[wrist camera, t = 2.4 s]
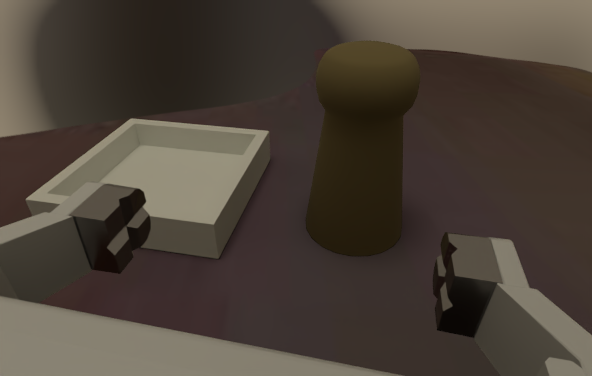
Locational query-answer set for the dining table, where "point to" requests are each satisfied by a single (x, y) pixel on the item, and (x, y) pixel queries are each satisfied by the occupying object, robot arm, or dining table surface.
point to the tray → (173, 179)
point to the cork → (361, 146)
